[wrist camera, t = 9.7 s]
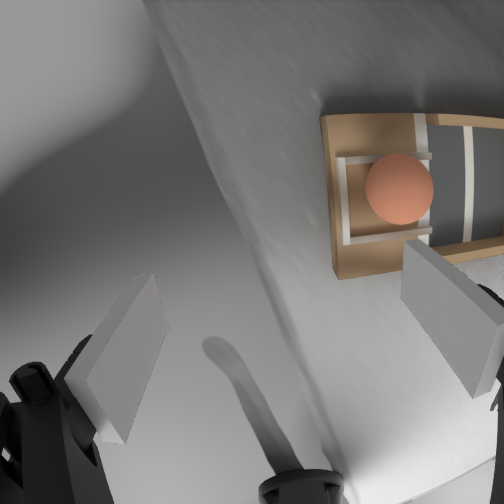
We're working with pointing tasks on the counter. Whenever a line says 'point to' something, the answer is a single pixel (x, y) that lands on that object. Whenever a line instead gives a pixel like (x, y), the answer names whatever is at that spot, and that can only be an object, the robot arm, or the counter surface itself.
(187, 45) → the counter surface
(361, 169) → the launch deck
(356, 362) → the counter surface
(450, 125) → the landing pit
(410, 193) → the ball
